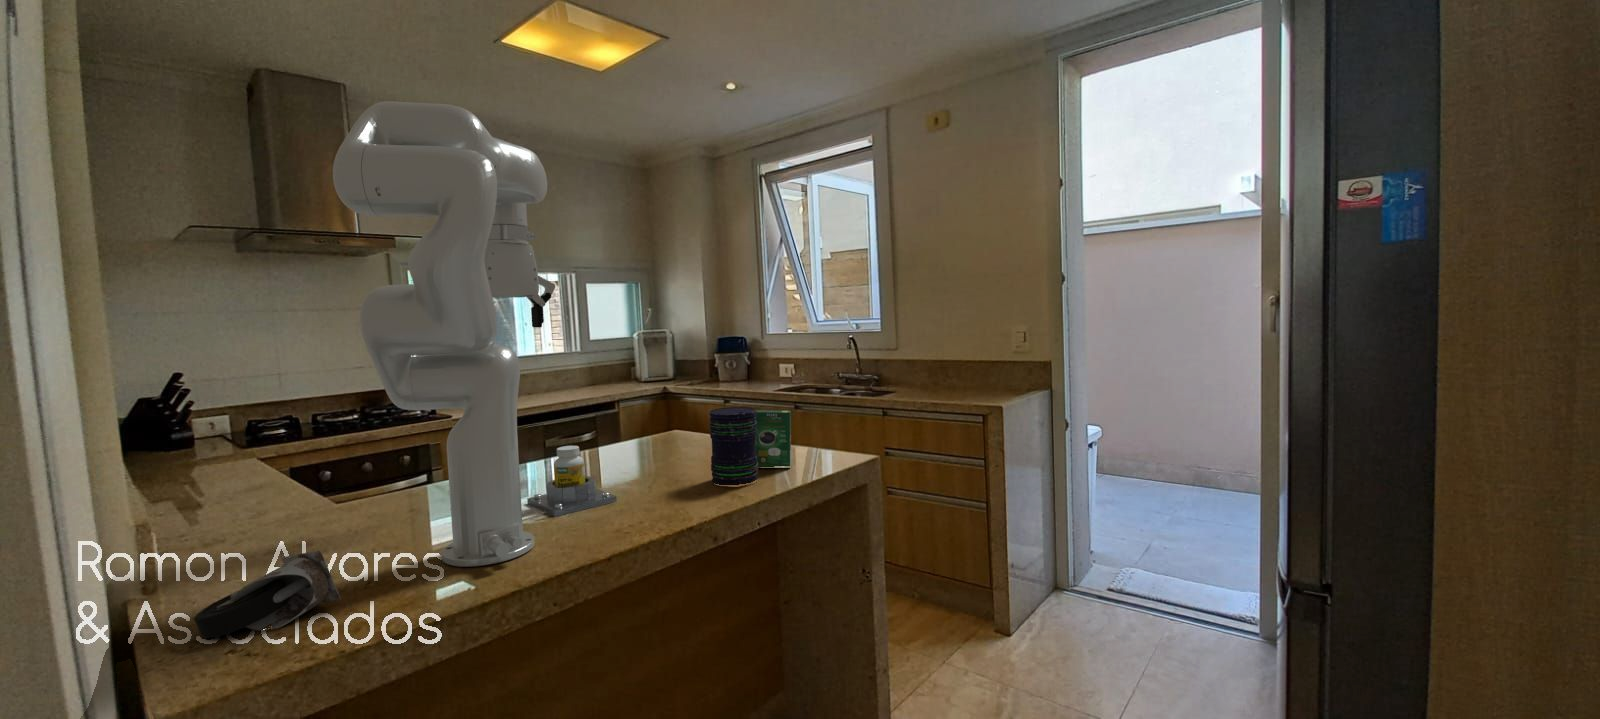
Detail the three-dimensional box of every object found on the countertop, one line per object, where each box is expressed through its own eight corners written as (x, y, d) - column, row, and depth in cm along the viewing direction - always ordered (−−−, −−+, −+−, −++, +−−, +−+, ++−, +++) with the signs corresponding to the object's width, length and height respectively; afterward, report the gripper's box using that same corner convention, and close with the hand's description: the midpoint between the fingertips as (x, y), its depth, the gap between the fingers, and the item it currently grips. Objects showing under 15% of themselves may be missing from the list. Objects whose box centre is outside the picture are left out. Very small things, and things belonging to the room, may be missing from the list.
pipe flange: (616, 501, 121) (615, 480, 120) (554, 516, 112) (553, 494, 112) (587, 490, 129) (586, 470, 129) (527, 503, 121) (526, 482, 121)
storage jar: (702, 481, 134) (699, 411, 133) (740, 472, 140) (737, 405, 139) (729, 490, 126) (727, 416, 125) (768, 480, 133) (766, 410, 132)
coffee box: (792, 466, 145) (791, 409, 144) (791, 469, 142) (790, 411, 141) (757, 466, 146) (756, 409, 145) (755, 469, 143) (754, 411, 142)
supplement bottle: (587, 492, 124) (584, 443, 123) (584, 500, 119) (581, 449, 118) (557, 494, 123) (555, 445, 122) (553, 502, 117) (550, 451, 117)
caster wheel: (192, 658, 72) (280, 606, 82) (262, 649, 69) (345, 596, 79) (167, 606, 71) (259, 559, 81) (237, 594, 68) (324, 547, 78)
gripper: (543, 241, 128) (548, 326, 129) (449, 236, 116) (455, 330, 117) (559, 238, 123) (564, 326, 124) (462, 231, 111) (469, 330, 112)
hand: (511, 328), depth 121 cm, fingers open, 9 cm apart
